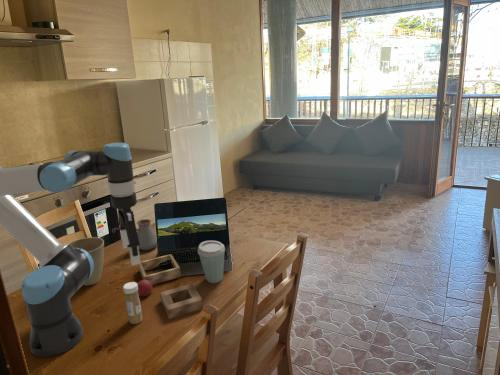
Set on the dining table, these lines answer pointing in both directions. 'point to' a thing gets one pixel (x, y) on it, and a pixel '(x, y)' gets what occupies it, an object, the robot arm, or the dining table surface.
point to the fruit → (144, 288)
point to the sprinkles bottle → (133, 302)
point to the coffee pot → (145, 235)
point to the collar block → (182, 306)
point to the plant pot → (92, 255)
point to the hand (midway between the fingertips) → (131, 255)
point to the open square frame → (159, 276)
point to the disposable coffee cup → (212, 260)
